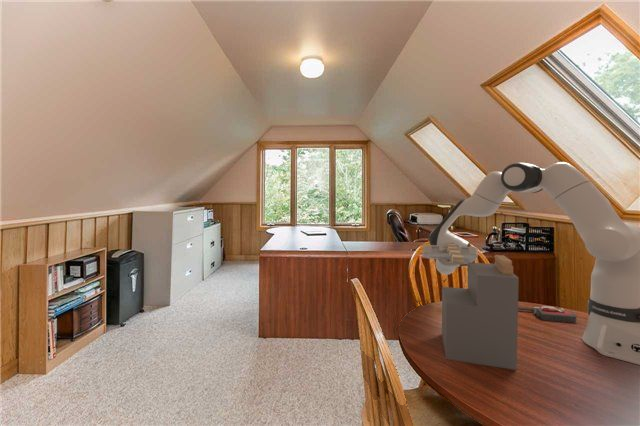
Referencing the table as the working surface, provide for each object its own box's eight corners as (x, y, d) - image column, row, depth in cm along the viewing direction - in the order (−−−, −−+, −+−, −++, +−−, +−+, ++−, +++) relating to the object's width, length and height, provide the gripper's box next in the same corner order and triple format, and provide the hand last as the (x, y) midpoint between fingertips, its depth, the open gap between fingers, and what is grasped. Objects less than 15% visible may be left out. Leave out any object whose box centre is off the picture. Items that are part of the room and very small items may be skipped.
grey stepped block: (441, 334, 101) (442, 250, 99) (500, 342, 95) (502, 253, 93) (446, 359, 86) (446, 260, 84) (516, 370, 80) (519, 264, 78)
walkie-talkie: (569, 315, 116) (511, 310, 122) (569, 304, 115) (511, 299, 121) (581, 324, 107) (518, 318, 113) (581, 313, 107) (519, 307, 113)
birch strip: (445, 247, 115) (445, 242, 115) (453, 247, 114) (454, 242, 114) (453, 263, 90) (453, 256, 90) (463, 263, 89) (463, 257, 89)
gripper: (421, 249, 127) (422, 237, 115) (473, 251, 120) (479, 239, 109) (421, 262, 124) (422, 252, 113) (474, 265, 118) (481, 255, 106)
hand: (450, 245), depth 111 cm, fingers closed on birch strip, 3 cm apart
